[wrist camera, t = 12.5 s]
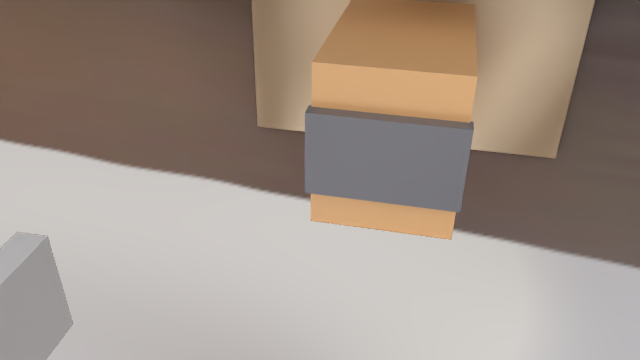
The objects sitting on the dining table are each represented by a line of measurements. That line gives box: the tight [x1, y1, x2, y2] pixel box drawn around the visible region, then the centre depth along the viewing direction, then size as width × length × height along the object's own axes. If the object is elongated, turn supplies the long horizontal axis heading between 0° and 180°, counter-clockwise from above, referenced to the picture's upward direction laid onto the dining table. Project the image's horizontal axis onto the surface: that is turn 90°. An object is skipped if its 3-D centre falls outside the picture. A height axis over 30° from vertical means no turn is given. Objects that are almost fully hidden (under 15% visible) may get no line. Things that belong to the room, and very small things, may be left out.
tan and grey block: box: [305, 0, 478, 240], centre depth 23 cm, size 5×6×8 cm
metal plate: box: [251, 0, 595, 158], centre depth 26 cm, size 14×7×1 cm, turn 90°
